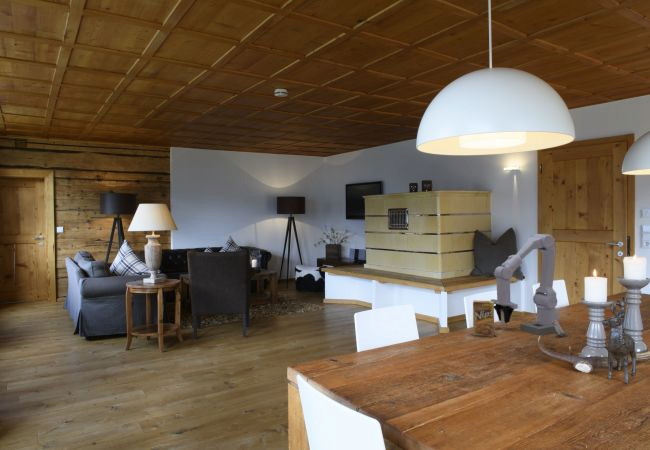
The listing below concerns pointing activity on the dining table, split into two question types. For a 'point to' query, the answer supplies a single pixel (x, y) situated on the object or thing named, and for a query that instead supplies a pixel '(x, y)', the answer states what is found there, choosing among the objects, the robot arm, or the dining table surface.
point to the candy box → (483, 318)
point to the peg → (502, 319)
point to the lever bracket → (564, 334)
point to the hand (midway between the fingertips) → (504, 321)
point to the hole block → (538, 328)
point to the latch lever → (558, 327)
